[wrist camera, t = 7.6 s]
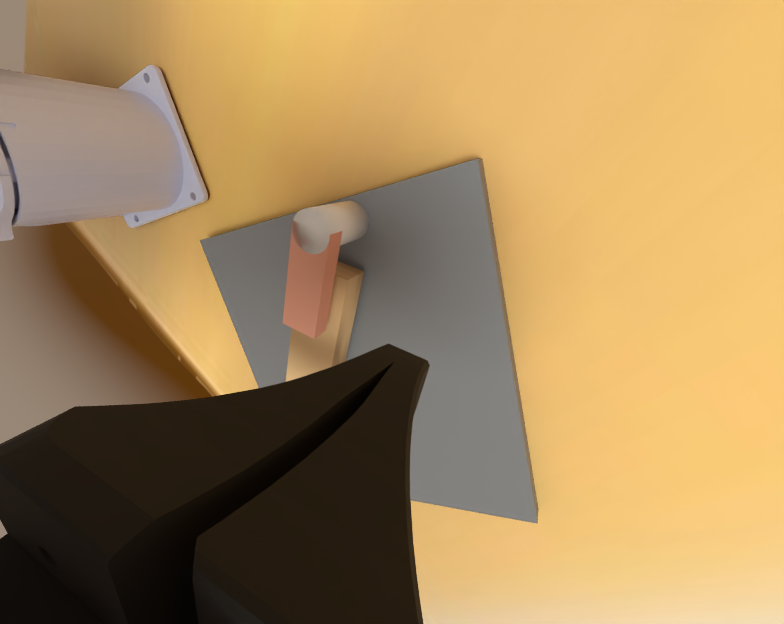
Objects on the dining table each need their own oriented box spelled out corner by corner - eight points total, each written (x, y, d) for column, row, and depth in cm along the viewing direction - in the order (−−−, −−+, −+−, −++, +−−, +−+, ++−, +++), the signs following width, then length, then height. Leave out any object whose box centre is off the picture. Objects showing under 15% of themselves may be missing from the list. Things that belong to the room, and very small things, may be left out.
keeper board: (302, 470, 30) (264, 515, 26) (212, 237, 24) (146, 252, 21) (538, 509, 21) (532, 585, 17) (482, 158, 16) (455, 157, 12)
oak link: (335, 439, 25) (308, 472, 22) (290, 413, 26) (259, 441, 23) (372, 274, 19) (340, 293, 16) (310, 249, 20) (271, 262, 17)
